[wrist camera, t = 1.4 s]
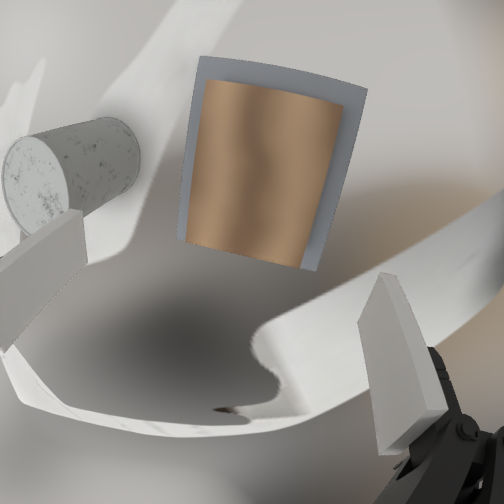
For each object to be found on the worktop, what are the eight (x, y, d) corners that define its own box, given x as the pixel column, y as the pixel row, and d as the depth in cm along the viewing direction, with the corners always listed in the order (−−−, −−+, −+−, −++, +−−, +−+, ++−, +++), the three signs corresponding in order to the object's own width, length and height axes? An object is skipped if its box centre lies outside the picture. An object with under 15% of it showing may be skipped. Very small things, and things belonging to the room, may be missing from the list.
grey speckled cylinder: (92, 205, 34) (26, 251, 23) (66, 137, 30) (-9, 163, 19) (152, 181, 31) (86, 227, 21) (124, 103, 27) (44, 115, 17)
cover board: (336, 105, 25) (343, 105, 21) (299, 246, 32) (299, 268, 28) (220, 82, 25) (206, 79, 21) (199, 223, 32) (185, 241, 28)
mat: (367, 89, 24) (367, 88, 23) (315, 269, 33) (315, 271, 33) (201, 56, 24) (199, 55, 24) (177, 237, 34) (176, 238, 34)
